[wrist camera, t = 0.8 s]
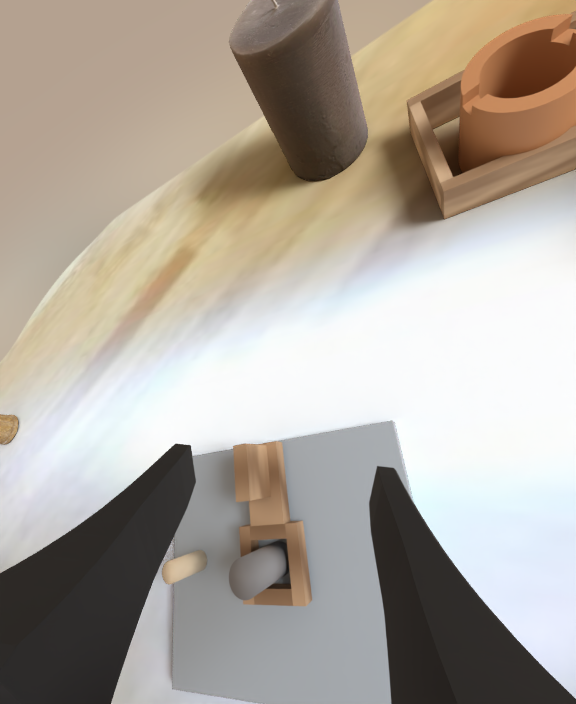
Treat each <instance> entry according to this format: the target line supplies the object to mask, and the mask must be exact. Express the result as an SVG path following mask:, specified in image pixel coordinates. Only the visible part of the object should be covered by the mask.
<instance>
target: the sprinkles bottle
mask: <svg viewBox="0 0 576 704" xmlns="http://www.w3.org/2000/svg"><path fill="white" fill-rule="evenodd" d="M17 429H18V419H17V417H16V416H14V415H0V444H7V443H9V442H10V441H11V440H12V439H13V438H14V436H15V434H16V432H17Z"/></svg>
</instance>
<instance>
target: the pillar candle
mask: <svg viewBox="0 0 576 704" xmlns="http://www.w3.org/2000/svg"><path fill="white" fill-rule="evenodd" d="M229 43H230V48H231V50H232V52H233V54H234V56H235V58H236V60H237V62H238V64H239V66H240V68H241V70H242V72H243V74H244V76H245V78H246V80H247V82H248V84H249V86H250V88H251V90H252V92H253V94H254V96H255V98H256V100H257V102H258V104H259V106H260V108H261V110H262V111H263V114H264V116H265V118H266V120H267V122H268V124H269V126H270V128H271V130H272V132H273V133H274V135H275V137H276V139H277V141H278V143H279V145H280V147H281V149H282V151H283V153H284V155H285V157H286V159H287V161H288V163H289V165H290V167H291V169H292V170H293V171H294V173H295V174H296V175H297V176H298V177H300V178H302V179H304V180H305V179H306V180H310V181H315V180H322V179H327V178H330V177H332V176H335V175H336V174H338V173H340V172H341V171H343V170H344V169H346V168H347V167H348V166H349V165H350V164H352V163H353V162H354V161H355V160H356V158H357V157H358V156H359V155H360V153H361V151H362V150H363V149H364V147H365V145H366V142H367V138H368V129H367V124H366V119H365V115H364V111H363V107H362V102H361V98H360V94H359V90H358V85H357V81H356V77H355V72H354V68H353V64H352V59H351V55H350V51H349V46H348V42H347V38H346V34H345V29H344V25H343V21H342V16H341V12H340V7H339V3H338V0H251V1H250V2H249V3H248V5H247V6H246V9H245V10H244V11H243V12H242V14H241V15H240V17H239V18H238V20H237V22H236V23H235V25H234V27H233V29H232V33H231V35H230V39H229Z"/></svg>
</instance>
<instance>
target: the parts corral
mask: <svg viewBox="0 0 576 704" xmlns="http://www.w3.org/2000/svg"><path fill="white" fill-rule="evenodd" d="M571 14H573V16H572V19H571V23H570V27H569V29H576V11H575V12H573V13H571ZM464 71H465V70H463V71H461V72H459V73H457V74H456V75H454V76H452V77H450V78H448V79H446V80H444V81H442V82H440V83H439V84H437V85H435V86H433V87H431V88H429V89H427V90H425V91H423V92H422V93H420V94H418V95H416V96H414V97H412V98H410V99H408V100H407V107H408V116H409V124H410V133H411V135H412V138H413V140H414V143H415V145H416V148H417V151H418V153H419V156H420V158H421V161H422V163H423V166H424V168H425V171H426V174H427V176H428V179H429V181H430V184H431V186H432V189H433V192H434V194H435V197H436V199H437V202H438V204H439V207H440V209H441V212H442V215H443V217H444V219H446V218H449V217H452V216H454V215H457V214H459V213H462V212H465V211H467V210H470V209H473V208H475V207H478V206H480V205H483V204H486V203H488V202H491V201H493V200H496V199H499V198H501V197H504V196H507V195H509V194H512V193H514V192H517V191H520V190H522V189H525V188H527V187H530V186H533V185H535V184H538V183H541V182H543V181H546V180H548V179H551V178H554V177H556V176H559V175H561V174H564V173H567V172H569V171H572V170H575V169H576V126H574V127H571V128H570V129H569V130H568V131H567V132H565V133H564V134H563V135H561V136H560V137H558V138H557V139H555V140H554V141H552V142H550V143H548V144H546V145H544V146H542V147H539V148H537V149H534V150H531V151H528V152H524V153H520V154H515V155H506V156H503V157H500V158H498V159H495V160H493V161H491V162H488V163H486V164H484V165H481V166H479V167H477V168H474V169H472V170H469V171H467V172H465V173H462V174H460V175H458V176H455V177H453V176H452V173H451V171H450V169H449V166H448V164H447V162H446V160H445V157H444V155H443V153H442V150H441V148H440V146H439V143H438V141H437V139H436V136H435V134H434V132H433V129H434V128H436V127H438V126H440V125H442V124H444V123H446V122H449V121H451V120H453V119H455V118H457V117H459V116H460V95H461V79H462V76H463V73H464Z"/></svg>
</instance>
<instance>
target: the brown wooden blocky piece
mask: <svg viewBox="0 0 576 704" xmlns="http://www.w3.org/2000/svg"><path fill="white" fill-rule="evenodd" d="M233 453H234V473H235V493H236V502H243V501H249V509H250V524H248V525H244V526H241V527H239V535H240V554H241V557H243V556H245V555H247V554H249V553H251V552H253V551H256V550H258V549H259V543H258V540H268V539H287V549H288V559H289V569H290V580H291V584H272V585H270V586H269V587H267V588H266V589H265V590H263V591H262V592H260V593H259V594H257V595H256V596H254V597H253V598H252V599H250V600H243V604H245V605H276V606H307V605H308V604H309V603H310V602H311V601H312V593H311V584H310V576H309V567H308V559H307V551H306V542H305V534H304V525H303V520H301V521H290V513H289V503H288V494H287V484H286V475H285V465H284V456H283V446H282V442H277V441H275V442H269V443H263V444H258V445H257V444H241V445H236V446H233Z"/></svg>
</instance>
